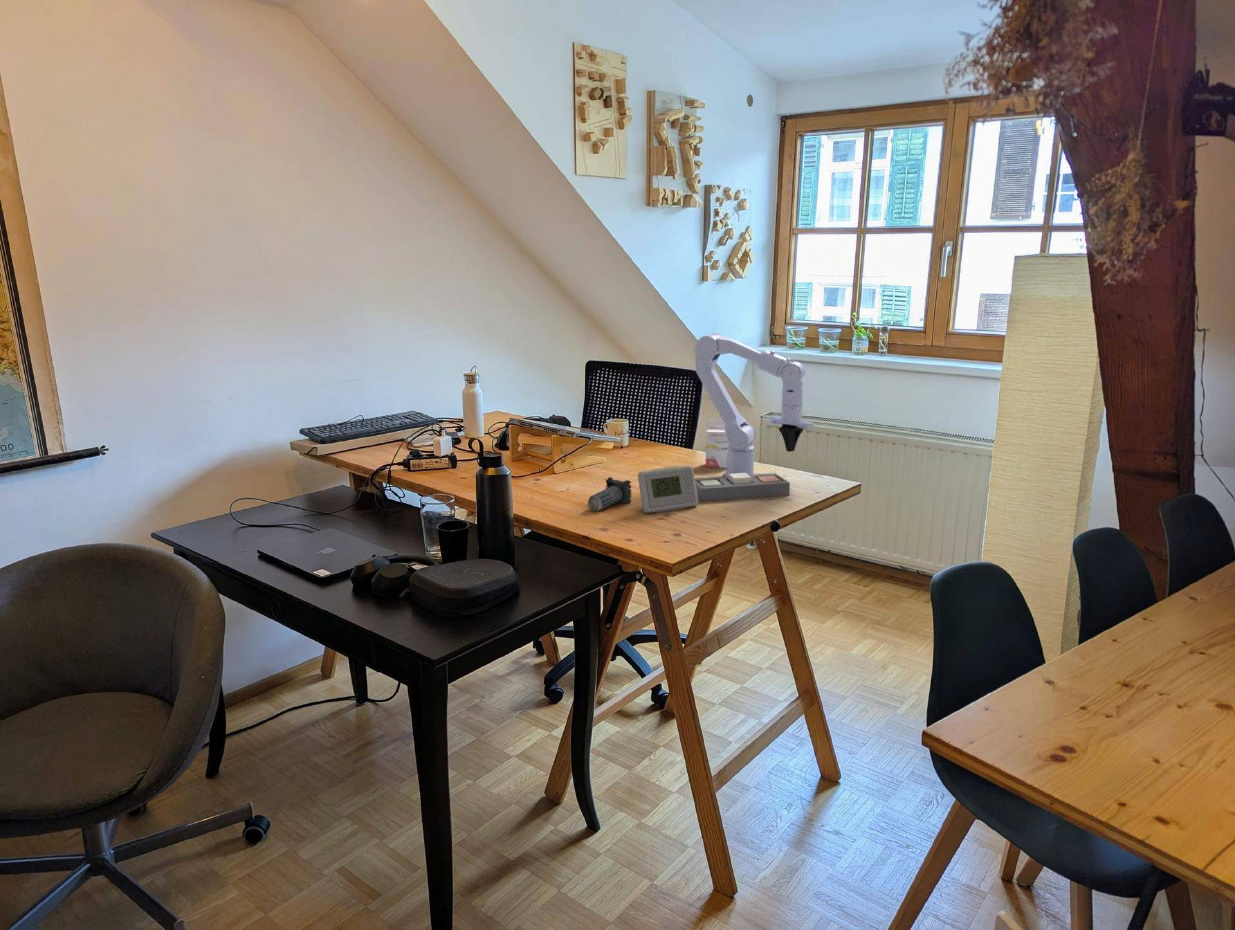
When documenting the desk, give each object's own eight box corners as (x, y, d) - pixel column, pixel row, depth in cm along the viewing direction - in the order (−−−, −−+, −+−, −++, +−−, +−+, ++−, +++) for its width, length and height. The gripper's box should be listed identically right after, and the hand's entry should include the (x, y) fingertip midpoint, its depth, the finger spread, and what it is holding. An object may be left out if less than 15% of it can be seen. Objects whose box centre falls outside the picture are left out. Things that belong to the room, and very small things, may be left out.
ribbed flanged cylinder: (611, 503, 219) (584, 517, 210) (605, 477, 218) (578, 489, 209) (637, 502, 214) (611, 516, 204) (631, 475, 212) (605, 488, 203)
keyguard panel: (691, 490, 225) (691, 478, 224) (774, 484, 229) (775, 473, 228) (701, 501, 214) (701, 488, 214) (789, 494, 219) (789, 482, 218)
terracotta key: (757, 483, 225) (757, 476, 224) (773, 481, 226) (774, 475, 225) (763, 487, 220) (763, 481, 219) (780, 486, 221) (780, 480, 220)
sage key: (699, 487, 222) (699, 480, 222) (716, 485, 223) (716, 479, 222) (704, 491, 217) (704, 485, 217) (721, 490, 218) (721, 484, 218)
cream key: (728, 480, 223) (728, 473, 223) (745, 478, 224) (745, 472, 223) (734, 484, 218) (734, 478, 218) (751, 483, 219) (751, 477, 219)
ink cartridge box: (705, 467, 250) (705, 422, 246) (705, 464, 255) (705, 419, 251) (733, 467, 249) (733, 422, 246) (732, 464, 254) (733, 419, 250)
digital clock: (642, 515, 204) (641, 475, 201) (634, 505, 212) (633, 467, 210) (702, 510, 207) (702, 471, 204) (692, 501, 215) (692, 463, 213)
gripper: (763, 403, 229) (762, 448, 232) (802, 409, 218) (800, 457, 221) (780, 400, 233) (778, 445, 236) (819, 406, 222) (817, 453, 225)
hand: (790, 450), depth 229 cm, fingers closed
